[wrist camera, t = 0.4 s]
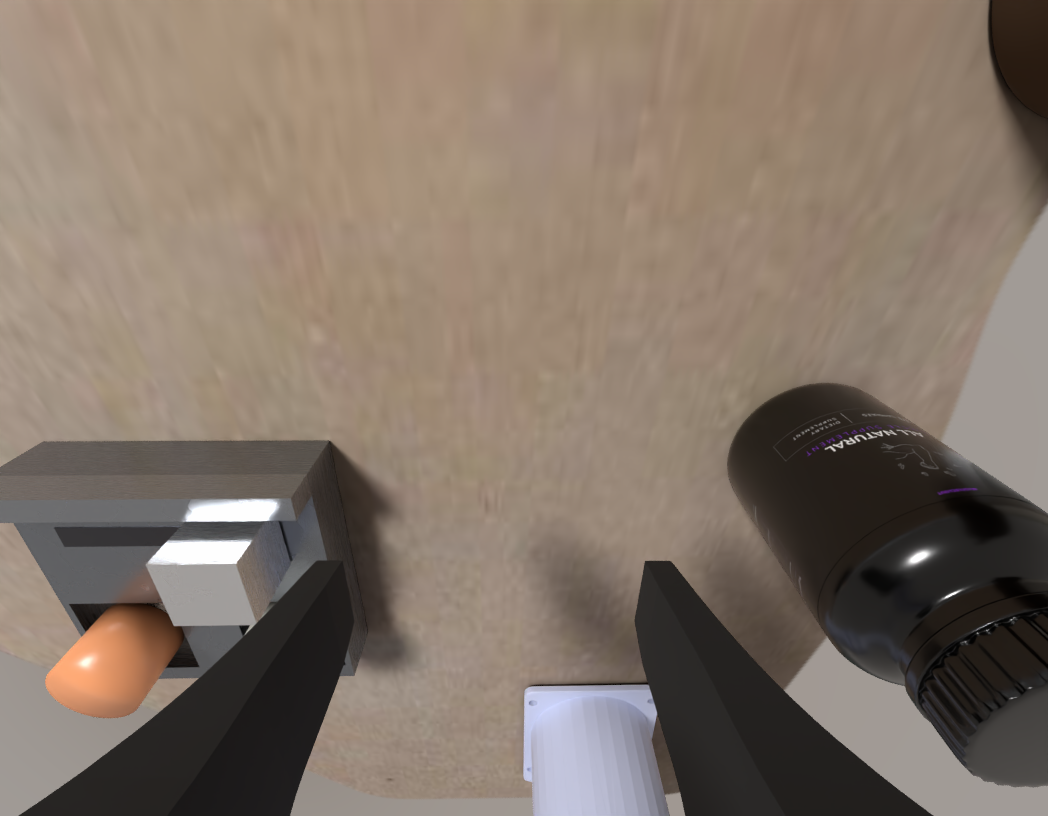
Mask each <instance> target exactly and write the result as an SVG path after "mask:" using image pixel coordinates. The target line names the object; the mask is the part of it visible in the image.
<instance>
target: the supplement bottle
mask: <svg viewBox="0 0 1048 816" xmlns="http://www.w3.org/2000/svg"><path fill="white" fill-rule="evenodd" d="M727 466H728V475H729V480H730V483H731V485H732V487H733V489H734V492H735V493H736V495H737V497H738V498H739V500H740V501H741V503H742V505H743V506H744V508H745V510H746V511H747V513H748V514H749V516H750V517H751V519H752V520H753V522H754V524H755V525H756V527H757V528H758V530H759V531H760V533H761V535H762V536H763V538H764V539H765V541H766V542H767V544H768V545H769V547H770V549H771V550H772V552H773V553H774V555H775V556H776V558H777V559H778V561H779V563H780V564H781V566H782V567H783V569H784V570H785V572H786V573H787V575H788V577H789V578H790V580H791V581H792V583H793V584H794V586H795V587H796V589H797V591H798V592H799V594H800V595H801V597H802V598H803V600H804V601H805V603H806V605H807V606H808V608H809V609H810V611H811V612H812V614H813V615H814V617H815V619H816V620H817V622H818V623H819V625H820V626H821V628H822V629H823V631H824V632H825V634H826V635H827V636H828V638H829V639H830V641H831V642H832V644H833V645H834V646H835V647H836V649H837V650H838V651H839V652H840V653H841V654H842V655H843V656H844V657H845V658H846V659H847V660H849V661H850V662H851V663H853V664H854V665H856V666H857V667H859V668H860V669H862V670H863V671H865V672H867V673H869V674H871V675H873V676H875V677H877V678H879V679H882V680H885V681H888V682H890V683H894V684H898V685H902V686H905V687H906V691H907V693H908V695H909V697H910V699H911V700H912V701H913V703H914V704H915V706H916V707H917V709H918V710H919V711H920V713H921V714H922V715H923V716H924V717H925V718H926V719H927V720H928V721H930V722H931V723H932V725H933V726H934V728H935V729H936V730H937V732H938V733H939V735H940V736H941V737H942V739H943V740H944V741H945V743H946V744H947V745H948V747H949V748H950V750H951V751H952V752H953V754H954V755H955V756H956V758H957V759H958V760H959V761H960V762H961V764H962V765H963V766H964V767H965V768H967V769H968V771H969V772H970V773H971V774H972V775H974V776H978V777H980V778H981V779H983V781H987V782H994V783H995V784H997V785H1009V786H1012V787H1024V786H1028V787H1039V786H1048V514H1047V513H1046V512H1045V511H1043V510H1042V509H1040V508H1039V507H1037V506H1036V505H1035V504H1033V503H1032V502H1030V501H1029V500H1027V499H1025V498H1024V497H1023V496H1021V495H1020V494H1018V493H1017V492H1015V491H1014V490H1012V489H1011V488H1009V487H1008V486H1006V485H1005V484H1003V483H1002V482H1000V481H999V480H997V479H996V478H994V477H993V476H991V475H990V474H988V473H987V472H985V471H984V470H982V469H981V468H979V467H978V466H976V465H975V464H973V463H972V462H970V461H969V460H967V459H966V458H964V457H963V456H961V455H960V454H958V453H957V452H955V451H954V450H952V449H951V448H949V447H948V446H946V445H945V444H943V443H942V442H941V441H939V440H938V439H936V438H935V437H933V436H932V435H930V434H929V433H927V432H926V431H924V430H923V429H921V428H920V427H918V426H917V425H915V424H914V423H912V422H911V421H909V420H908V419H906V418H905V417H903V416H902V415H900V414H899V413H897V412H896V411H894V410H893V409H891V408H890V407H888V406H887V405H885V404H883V403H882V402H880V401H879V400H877V399H876V398H874V397H872V396H871V395H869V394H867V393H865V392H863V391H861V390H859V389H857V388H854V387H851V386H847V385H842V384H836V383H818V384H809V385H804V386H800V387H797V388H793V389H791V390H788V391H785V392H783V393H781V394H779V395H777V396H775V397H773V398H771V399H770V400H768V401H767V402H765V403H764V404H762V405H761V406H760V407H759V408H757V409H756V410H755V411H754V412H753V413H752V414H751V415H750V416H749V417H748V418H747V419H746V420H745V422H744V423H743V424H742V425H741V427H740V428H739V430H738V431H737V433H736V435H735V437H734V439H733V441H732V444H731V447H730V450H729V455H728V463H727Z"/></svg>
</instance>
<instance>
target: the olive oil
mask: <svg viewBox="0 0 1048 816" xmlns="http://www.w3.org/2000/svg"><path fill="white" fill-rule="evenodd" d="M992 34H993V43H994V49H995V53H996V57H997V61H998V64H999V67H1000V70H1001V72H1002V74H1003V77H1004V79H1005V81H1006V82H1007V84H1008V86H1009V87H1010V89H1011V90H1012V92H1013V93H1014V94H1015V96H1016V97H1017V98H1018V99H1019V100H1020V101H1021V102H1022V103H1023V104H1024V105H1025V106H1027V107H1028V108H1029V109H1031V110H1032V111H1034V112H1035V113H1037V114H1039V115H1041V116H1043V117H1045V118H1047V119H1048V0H992Z"/></svg>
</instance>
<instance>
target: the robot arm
mask: <svg viewBox="0 0 1048 816" xmlns="http://www.w3.org/2000/svg"><path fill="white" fill-rule="evenodd" d="M353 625H354V616H353V611H352V606H351V601H350V595H349V590H348V585H347V580H346V575H345V570H344V565H343V560H317V561H316V562H315V563H313V564H312V565H311V566H310V568H309V569H308V570H307V571H306V572H305V573H304V574H303V575H302V576H301V577H300V578H299V579H298V580H297V581H296V582H295V583H294V585H293V586H292V587H291V588H290V589H289V590H288V591H287V592H286V593H285V594H284V595H283V596H282V597H281V598H280V599H279V600H278V601H277V603H276V604H275V605H274V606H273V607H272V608H271V609H270V610H269V611H268V612H267V613H266V614H265V615H264V616H263V617H262V618H261V619H260V620H259V621H258V622H257V623H256V624H255V625H254V626H253V627H252V628H251V629H250V630H249V631H248V632H247V633H246V634H245V635H244V636H243V637H242V638H241V639H240V640H239V641H238V642H237V643H236V644H235V645H234V646H233V647H232V648H231V649H230V650H229V651H228V652H227V653H225V654H224V655H223V656H222V657H221V658H220V659H219V660H218V661H217V662H216V663H215V664H214V665H213V666H212V667H211V668H210V669H208V670H207V671H206V672H205V673H204V674H203V675H202V676H201V677H200V678H199V679H198V680H196V681H195V682H194V683H193V684H192V685H191V686H190V687H189V688H187V689H186V690H185V691H184V692H183V693H182V694H181V695H179V696H178V697H177V698H176V699H175V700H174V701H172V702H171V703H170V704H169V705H168V706H166V707H165V708H164V709H163V710H162V711H160V712H159V713H158V714H157V715H156V716H154V717H153V718H152V719H151V720H150V721H148V722H147V723H146V724H145V725H143V726H142V727H141V728H139V729H138V730H137V731H136V732H134V733H133V734H132V735H130V736H129V737H128V738H126V739H125V740H124V741H122V742H121V743H120V744H118V745H117V746H116V747H115V748H113V749H112V750H110V751H109V752H108V753H107V754H105V755H104V756H103V757H101V758H100V759H99V760H97V761H96V762H95V763H93V764H92V765H91V766H89V767H88V768H87V769H85V770H84V771H83V772H81V773H80V774H78V775H77V776H76V777H74V778H73V779H72V780H70V781H69V782H67V783H66V784H64V785H63V786H61V787H60V788H59V789H57V790H56V791H54V792H53V793H52V794H50V795H49V796H47V797H46V798H44V799H43V800H41V801H40V802H38V803H37V804H36V805H34V806H32V807H31V808H30V809H28V810H27V811H25V812H24V813H22V814H21V815H19V816H290V813H291V810H292V807H293V803H294V800H295V796H296V793H297V790H298V787H299V784H300V781H301V778H302V775H303V772H304V770H305V767H306V764H307V762H308V759H309V756H310V754H311V751H312V748H313V746H314V743H315V740H316V738H317V735H318V733H319V730H320V727H321V725H322V722H323V719H324V717H325V714H326V711H327V709H328V706H329V703H330V701H331V698H332V695H333V693H334V690H335V687H336V685H337V682H338V679H339V676H340V674H341V671H342V668H343V665H344V661H345V658H346V654H347V650H348V646H349V642H350V638H351V634H352V630H353ZM635 626H636V631H637V637H638V643H639V648H640V653H641V658H642V663H643V667H644V671H645V674H646V677H647V681H648V684H649V685H584V686H531V687H528V688H527V689H526V690H525V692H524V768H523V775H524V779H525V780H526V781H531V782H532V791H533V816H670V815H669V811H668V807H667V803H666V798H665V794H664V790H663V786H662V782H661V777H660V773H659V769H658V765H657V761H656V757H655V752H654V748H653V744H652V736H653V731H654V727H655V722H656V717H657V714H658V717H659V721H660V724H661V727H662V730H663V734H664V737H665V740H666V744H667V747H668V750H669V753H670V757H671V760H672V763H673V767H674V770H675V774H676V778H677V782H678V785H679V789H680V793H681V797H682V802H683V807H684V812H685V816H933V815H931V814H930V813H929V812H927V811H926V810H925V809H924V808H922V807H921V806H919V805H918V804H917V803H915V802H914V801H913V800H911V799H910V798H909V797H907V796H906V795H905V794H904V793H902V792H901V791H900V790H898V789H897V788H896V787H894V786H893V785H892V784H891V783H889V782H888V781H887V780H885V779H884V778H883V777H882V776H880V775H879V774H878V773H877V772H875V771H874V770H873V769H872V768H871V767H870V766H868V765H867V764H866V763H865V762H864V761H862V760H861V759H860V758H858V757H857V756H856V755H855V754H854V753H853V752H851V751H850V750H849V749H848V748H846V747H845V746H844V745H843V744H842V743H841V742H839V741H838V740H837V739H836V738H834V737H833V736H832V735H831V734H830V733H829V732H828V731H826V730H825V729H824V728H823V727H822V726H821V725H820V724H819V723H818V722H816V721H815V720H814V719H813V718H812V717H811V716H810V715H808V713H807V712H806V711H805V710H803V709H802V708H801V707H800V706H799V705H798V704H797V703H796V702H795V701H794V700H793V699H792V698H791V697H789V695H788V694H787V693H786V692H785V691H784V690H783V689H782V688H781V687H780V686H779V685H778V684H777V683H776V682H775V681H774V680H773V679H772V678H771V677H770V676H769V675H768V674H767V673H766V672H765V671H764V670H763V669H762V668H761V667H760V666H759V665H758V664H757V663H756V662H755V661H754V659H753V658H752V657H751V656H750V655H749V654H748V653H747V652H746V651H745V650H744V649H743V648H742V646H741V645H740V644H739V643H738V642H737V641H736V640H735V638H734V637H733V636H732V635H731V634H730V633H729V632H728V630H727V629H726V628H725V627H724V626H723V625H722V624H721V622H720V621H719V620H718V619H717V618H716V617H715V615H714V614H713V613H712V612H711V611H710V609H709V608H708V607H707V606H706V604H705V603H704V602H703V601H702V600H701V598H700V597H699V596H698V595H697V593H696V592H695V591H694V590H693V588H692V587H691V586H690V585H689V583H688V582H687V581H686V579H685V578H684V577H683V576H682V574H681V573H680V572H679V571H678V569H677V568H676V567H675V565H674V564H673V563H672V562H671V561H645V564H644V570H643V576H642V581H641V587H640V593H639V599H638V604H637V610H636V616H635Z"/></svg>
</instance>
